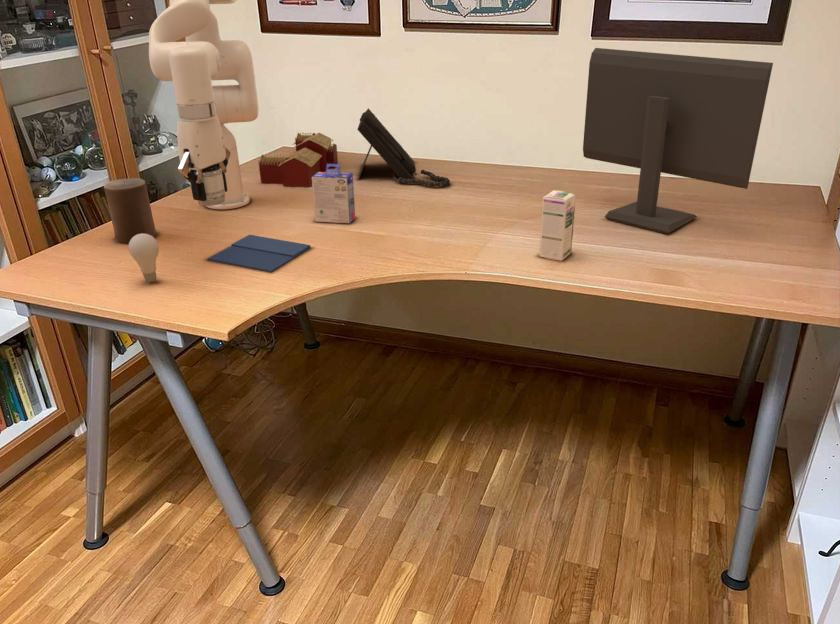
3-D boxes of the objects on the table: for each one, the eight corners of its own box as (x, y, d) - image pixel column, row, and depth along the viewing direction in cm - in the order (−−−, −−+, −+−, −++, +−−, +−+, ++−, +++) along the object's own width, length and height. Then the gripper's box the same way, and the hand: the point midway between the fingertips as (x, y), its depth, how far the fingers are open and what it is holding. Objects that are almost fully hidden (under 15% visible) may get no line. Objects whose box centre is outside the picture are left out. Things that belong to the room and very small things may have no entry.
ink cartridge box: (356, 217, 190) (353, 163, 183) (350, 224, 185) (347, 169, 178) (321, 215, 192) (316, 161, 185) (314, 222, 187) (309, 167, 180)
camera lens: (200, 198, 159) (194, 163, 155) (228, 197, 160) (223, 162, 156) (194, 206, 154) (188, 170, 150) (223, 206, 154) (218, 170, 150)
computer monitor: (746, 230, 178) (785, 58, 158) (719, 248, 167) (757, 67, 148) (593, 195, 204) (610, 44, 184) (562, 209, 193) (576, 51, 174)
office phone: (450, 188, 211) (450, 118, 201) (355, 189, 212) (351, 119, 202) (448, 162, 237) (448, 99, 227) (363, 163, 237) (360, 100, 227)
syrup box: (562, 261, 161) (567, 199, 154) (538, 256, 164) (542, 195, 157) (571, 253, 166) (577, 192, 158) (547, 248, 168) (552, 189, 161)
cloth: (207, 260, 165) (207, 256, 165) (249, 237, 178) (249, 234, 177) (271, 272, 158) (270, 269, 158) (310, 248, 171) (310, 245, 171)
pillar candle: (141, 245, 174) (127, 185, 167) (107, 241, 177) (93, 182, 169) (164, 231, 182) (152, 174, 175) (132, 228, 185) (119, 171, 177)
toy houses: (318, 187, 214) (316, 153, 209) (253, 185, 217) (248, 152, 212) (350, 150, 253) (348, 120, 248) (294, 149, 255) (291, 120, 250)
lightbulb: (140, 277, 157) (129, 230, 152) (168, 275, 157) (159, 228, 152) (133, 288, 152) (122, 240, 146) (162, 287, 152) (152, 238, 147)
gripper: (210, 102, 155) (222, 183, 164) (153, 117, 142) (170, 205, 151) (237, 105, 153) (248, 187, 161) (182, 120, 139) (197, 209, 148)
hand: (210, 194), depth 156 cm, fingers closed on camera lens, 6 cm apart
